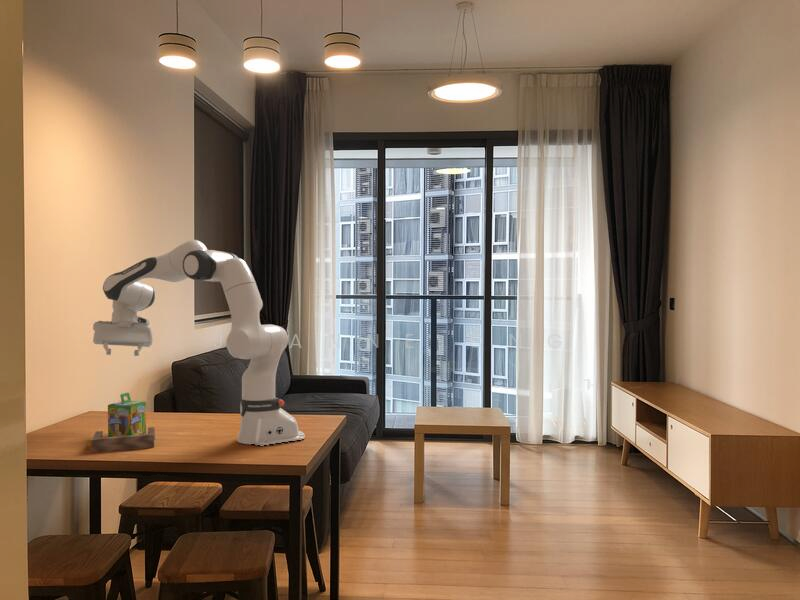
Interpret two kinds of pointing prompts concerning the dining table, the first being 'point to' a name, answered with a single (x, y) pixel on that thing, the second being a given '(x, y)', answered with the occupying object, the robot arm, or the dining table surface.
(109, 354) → the robot arm
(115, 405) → the chalk box
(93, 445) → the grey-brown shallow rectangular tray
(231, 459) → the dining table surface
